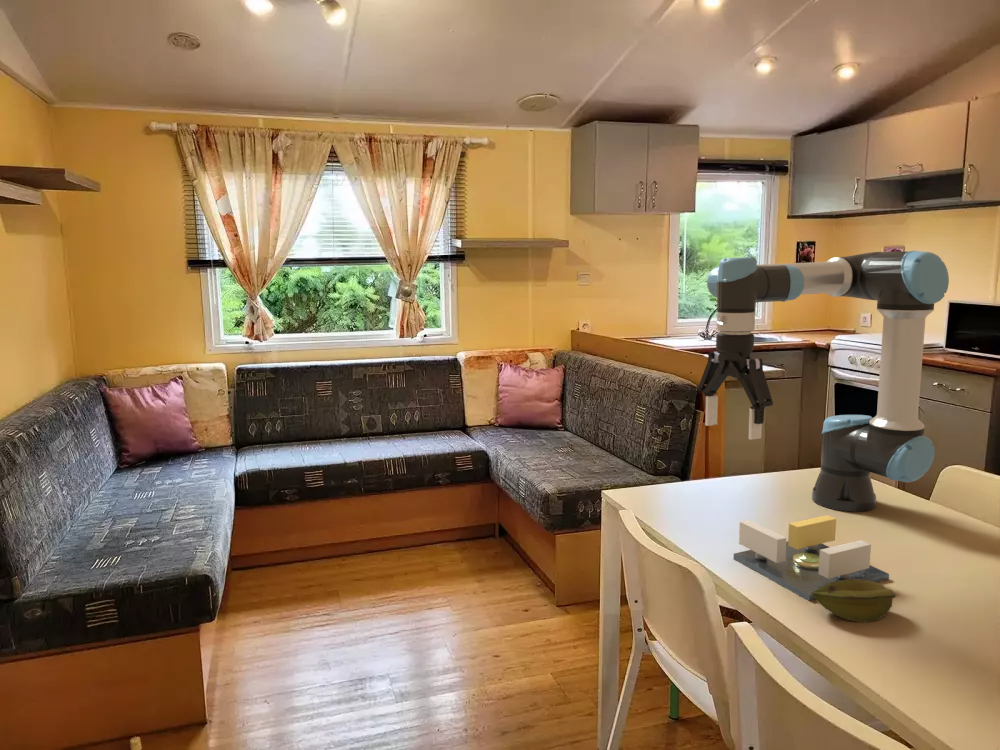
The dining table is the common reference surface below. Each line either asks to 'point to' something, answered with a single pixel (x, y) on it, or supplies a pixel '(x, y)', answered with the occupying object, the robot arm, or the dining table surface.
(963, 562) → the dining table surface
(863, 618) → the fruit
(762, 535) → the white crossbar plank
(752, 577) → the dining table surface
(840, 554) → the white brick piece
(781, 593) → the dining table surface
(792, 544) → the yellow lintel plank
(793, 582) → the base
